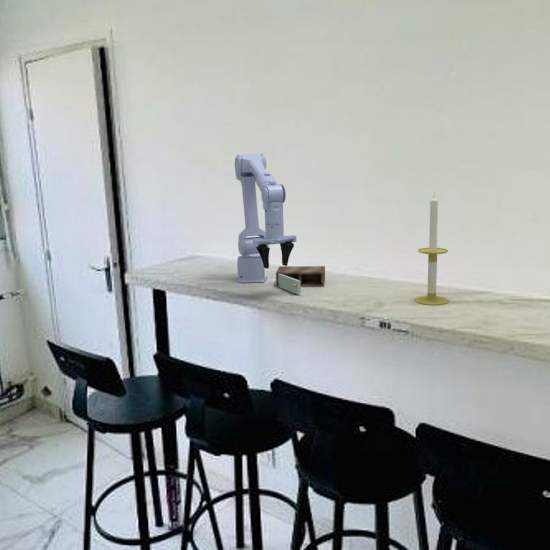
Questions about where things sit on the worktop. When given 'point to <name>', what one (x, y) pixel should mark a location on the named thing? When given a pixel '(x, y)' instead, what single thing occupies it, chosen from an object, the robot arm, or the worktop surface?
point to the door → (289, 284)
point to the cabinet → (304, 275)
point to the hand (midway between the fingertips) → (275, 266)
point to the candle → (432, 259)
